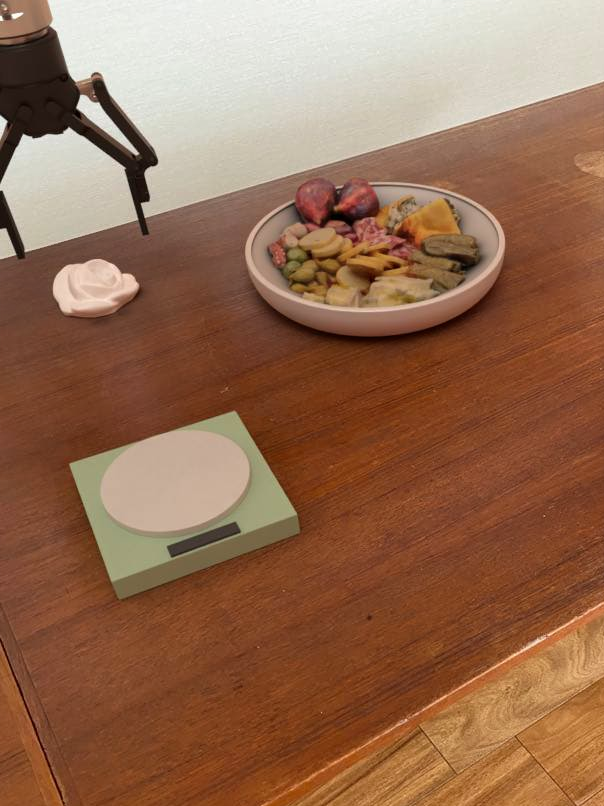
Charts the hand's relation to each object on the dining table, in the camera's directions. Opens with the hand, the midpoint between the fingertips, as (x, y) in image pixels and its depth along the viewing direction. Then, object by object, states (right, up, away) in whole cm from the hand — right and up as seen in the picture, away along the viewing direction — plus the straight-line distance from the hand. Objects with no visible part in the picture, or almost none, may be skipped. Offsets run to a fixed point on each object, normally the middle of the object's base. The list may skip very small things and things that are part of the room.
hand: (83, 241), depth 97 cm
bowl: (+33, -2, +6) cm, 34 cm away
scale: (+16, -31, -20) cm, 40 cm away
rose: (0, -5, +5) cm, 7 cm away
